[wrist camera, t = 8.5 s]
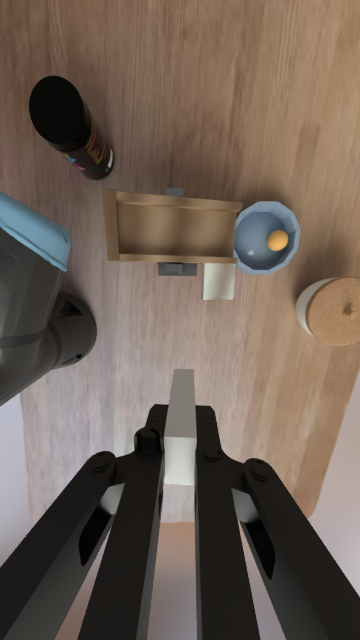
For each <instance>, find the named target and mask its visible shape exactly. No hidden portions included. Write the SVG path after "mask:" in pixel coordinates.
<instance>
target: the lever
mask: <svg viewBox="0 0 360 640" xmlns="http://www.w3.org/2000/svg"><path fill="white" fill-rule="evenodd" d="M103 197H104V212H105V227H106V241H107V256H108V260H109V261H125V262H166V263H203V269H202V294H201V299H203V300H227V299H233V293H234V280H235V267H236V263H238V258H233V254H234V240H235V226H236V213H237V212H238V211H240V210H241V209H242V203H241V202H230V201H219V200H208V199H197V198H186V197H175V196H164V195H153V194H142V193H131V192H120V191H116V190H112V189H103Z"/></svg>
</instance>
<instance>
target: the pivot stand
mask: <svg viewBox="0 0 360 640" xmlns="http://www.w3.org/2000/svg"><path fill="white" fill-rule="evenodd" d="M165 196H175V197H184V188H165ZM158 266H159V275H164V276H196V266H197V263H166V262H158Z"/></svg>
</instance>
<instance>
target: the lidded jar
mask: <svg viewBox="0 0 360 640" xmlns="http://www.w3.org/2000/svg"><path fill="white" fill-rule="evenodd" d="M295 312H296V317H297V320H298V322H299V324H300V325H301V326H302V327H303V328H304V329H305V330H306V331H307V332H308V333H309V334H311V335H313V336H314V337H316V338H317V339H319V340H320V341H322V342H324V343H327V344H330V345H336V346H341V345H348V344H352V343H354V342H357V341H359V340H360V278H359V277H335V278H327V279H323V280H320V281H317V282H315V283H313V284H311V285H310V286H308V287H307V288H306V289H305V290H304V291H303V292H302V293H301V294H300V296H299V298H298V300H297V302H296V307H295Z"/></svg>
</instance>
